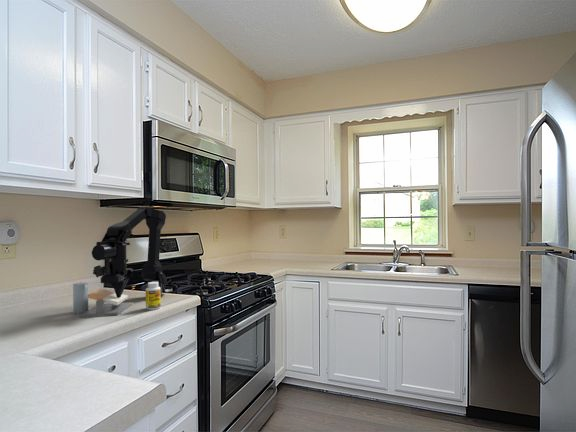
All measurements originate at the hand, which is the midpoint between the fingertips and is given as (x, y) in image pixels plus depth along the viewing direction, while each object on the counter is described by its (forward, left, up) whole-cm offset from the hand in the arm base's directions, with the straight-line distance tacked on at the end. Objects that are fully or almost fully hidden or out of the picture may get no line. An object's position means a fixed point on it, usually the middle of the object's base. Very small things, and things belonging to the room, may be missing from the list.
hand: (118, 297), depth 132 cm
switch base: (0, -4, -5) cm, 6 cm away
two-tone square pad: (0, -4, 0) cm, 4 cm away
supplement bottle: (0, +13, -5) cm, 14 cm away
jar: (0, -14, -5) cm, 15 cm away
